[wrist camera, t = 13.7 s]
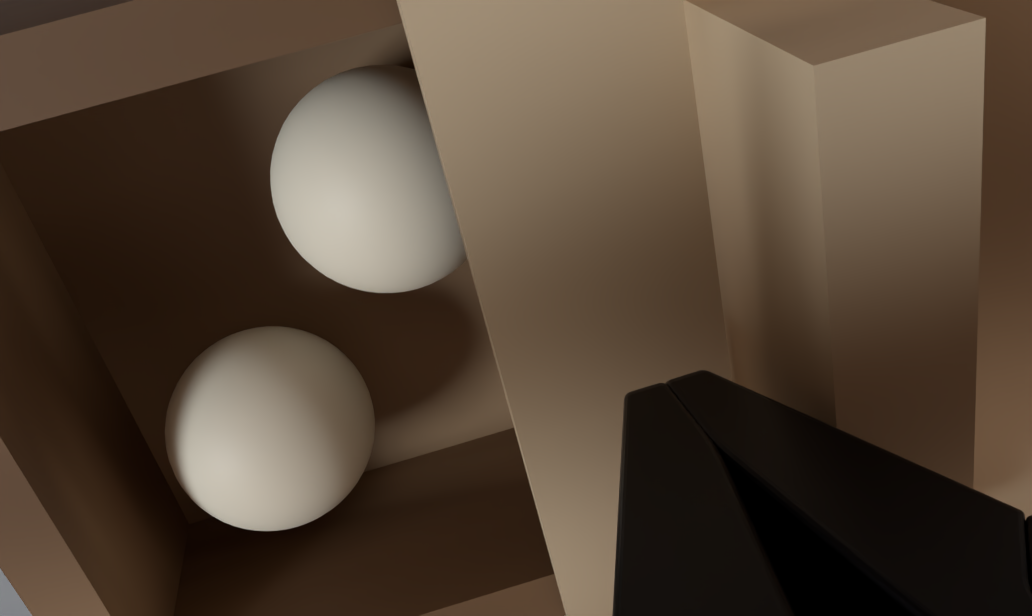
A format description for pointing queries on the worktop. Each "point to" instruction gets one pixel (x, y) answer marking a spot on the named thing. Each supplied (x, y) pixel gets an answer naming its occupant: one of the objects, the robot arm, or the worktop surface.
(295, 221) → the ball
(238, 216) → the walnut box
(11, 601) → the worktop surface
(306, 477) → the ball
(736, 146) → the lid
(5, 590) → the worktop surface
